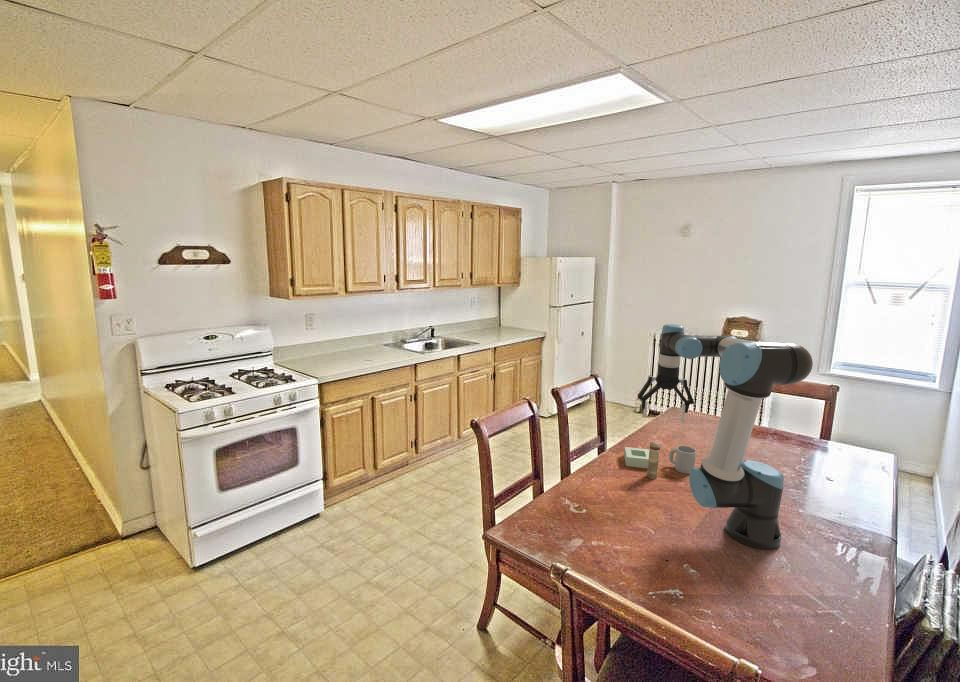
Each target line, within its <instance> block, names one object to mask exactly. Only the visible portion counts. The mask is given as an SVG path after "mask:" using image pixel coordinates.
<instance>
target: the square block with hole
mask: <svg viewBox="0 0 960 682" xmlns="http://www.w3.org/2000/svg"><path fill="white" fill-rule="evenodd" d="M649 451H650V448H649V449H648V448H639V447H638V448H637V447H631V446H630V447H627V446H624V452H623V457H624V461H625V462H624V463H625V466H626V467H631V468H641V469H648V460H649Z"/></svg>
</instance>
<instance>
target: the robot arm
mask: <svg viewBox="0 0 960 682" xmlns="http://www.w3.org/2000/svg"><path fill="white" fill-rule="evenodd" d="M661 329H662V330H661V334H660V347H659V357H658V366H657V374H656V376H652V375H648V376H647V381H646V382H645V384H643V386H642V388H641V390H639V392H638V394H637V399H638V400H640V401H641V409H643V418H645V419H646V418H647V411H648V402H649V401H648V399H650V398H651V397H652V396H653V395H654V394H655V393H656V392H657V391H659V390H660V389H662V390H668V391H672V390H674V391H675V392H676V394H677V395H678V396H679V398H680V399H681V400H682V402H683V403H681V409H680V410H681V411H680V418H679V419H680V421H681V423H682V422H683V423H685V422H684V421H685V415H686V414H688V411H689V406H690V405H694V404H695V401H694V398H693V396H692V394H691V391H690V389H689V385H688V379H686V378H685V377H683V378H679V377H680V376H679V375H680V365H681V358H684V359H688V360H694V359H696V358H699V357H702V358H703V357H709V358H710V357H711V358H712V357H713V358H719V363H718V367H719V369H720V370H719V376H720V378H721V379H722V381H723V385H724V387H725V388H726V389H727V393H726V396H725V400H724V404H723V406H722V411H721V414H720V418H719V421H718V425H717V427H716V431H715V435H714V439H713V443H712V446H711V450H710V454H709V455H707V456H705V457H703V458H702V460H701V463H700V467H694V469H692V470H691V471H690V474H688V476H689V477H688V479H689V481H688V482H689V488H690V491H691V494H692V496H693V498H694V500H695V501H696V503H697V504H698V505H699V506H701V507H702V508H712V509H716V508H717V509H721V508H733V509H732V510H731V512H730V514H729V516H728V517H727V519H726V523H725V530H726V532H727V534H728V535H729V536H730V537H732V538H733V539H734V540H736V541H737V542H739V543H741V544H743V545H746V546H747V547H751V548H754V549H758V550H759V549H761V550H773V549H777V548H779V546H781V542H782V541H781V540H782V533H781V528H780V523H779V519H778V518H779V512H780V506H781V501H782V496H783V490H784V489H785V488H784V484H785V483H784V481H785V479H784V478H785V477H784V476H783V474H782V472H780V471H779V470H778V469H777V468H775V467H773V466H772V465H769V464H766V463H763V462H761V461H756V460H751V459H747V460H744V458H745V457H744V456H745V455H746V451H747V448H748V444H749V442H750V439H751V436H752V431H753V430H754V427H755V423H756V420H757V417H758V413H759V410H760V408H761V405H762V401H763V400H765V399H767V398H770V396H771V395H772V391H773V388H774V386H789V385H790V386H791V385H794V384H799V383H800V382H802V381H804V380H805V379H806V378H807V377H809V375H810V373H812V369H813V365H814V364H813V363H814V362H813V357H812V355H811V353H810V351H808V350H807V348H805V347H804V346H802V345H800V344H797V343H793V342H787V341H785V342H784V341H783V342H782V341H781V342H777V341H776V342H775V341H774V342H773V341H767V342H766V341H755V340H754V341H753V340H747V339H741V338H737V337H736V336H734V335H726V334H724V335H700V334H699V335H696V334H695V335H690V334H685V327H684V326H683V325H681V324H676V323H675V324H673V323H667V324H664V325H663V326H662V328H661ZM653 382H656V384H655V385H654V386H653V387H652V388H651V389H650V390H648V389H649V388H650V386H651V385H652V383H653ZM679 384H681V386H683V388H684V390H685V393H686V395H687V398H688V400H687V398H686V397H685V396H684V395H683V392H681V391H680V389H679V387H678V385H679ZM647 391H648V392H647Z"/></svg>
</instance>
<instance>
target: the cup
mask: <svg viewBox="0 0 960 682" xmlns="http://www.w3.org/2000/svg"><path fill="white" fill-rule="evenodd" d="M674 454H675V459H674ZM696 457H697V449H695V448H693V447H691V446H689V445H688V446H687V445H678V446H676V448H672V449H671V450H670V451H669V452H668V458H669V461H670V463H671V464H672V465H674V469H675V470H676V471H677V472H678V473H681V474H685V475H686V474H687V475H689V474H690V471H691V470H692V469H694V468H695V465H696Z"/></svg>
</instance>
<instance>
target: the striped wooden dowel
mask: <svg viewBox="0 0 960 682" xmlns="http://www.w3.org/2000/svg"><path fill="white" fill-rule="evenodd" d="M649 450H650V451H649V460H648V468H646V469H647V470H646V471H647V472H646V477H647V478H648V479H650V480H656V479H657V476H658V468H659V458H660V450H661V443H660V442H658V441H650V444H649Z"/></svg>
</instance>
